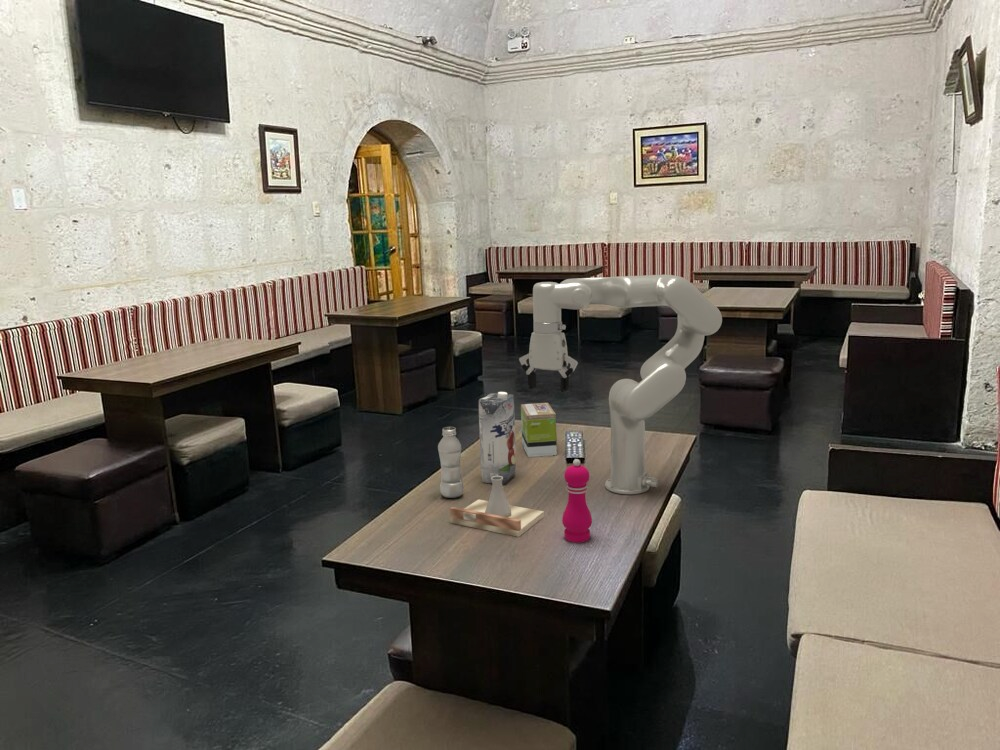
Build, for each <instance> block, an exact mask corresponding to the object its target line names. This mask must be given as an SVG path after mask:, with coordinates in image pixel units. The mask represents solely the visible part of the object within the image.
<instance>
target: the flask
mask: <svg viewBox="0 0 1000 750" xmlns="http://www.w3.org/2000/svg"><path fill="white" fill-rule="evenodd" d="M502 480H503V477H502V476H493V477H491V481H492V483H491V492H490V495H489V498H488V500H487V501H488V504H487V507H486V510H485V513H488V514H493V515H498V516H503V517H508V516H510V515H511V508H510V506H509V505H510V504H509V502H508V499H507V497H506V496H507V495H506V493H505V492H504V488H503V485H502Z"/></svg>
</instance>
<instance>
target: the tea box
mask: <svg viewBox="0 0 1000 750" xmlns="http://www.w3.org/2000/svg"><path fill="white" fill-rule="evenodd" d="M520 418H521V419H520V420H521V421H520V423H521V424H520V425H521V444H522V447H523V448H524V451H525V453H526V455H527V457H528V458H541V456H542V458H543V457H554V456H553V455H555V456H557V455H558V453H557V452H558V450H557V449H558V447H557V445H558V443H557V441H558V440H557V438H558V437H557V414H556V412H555V411H554V409H553V408H552V406H551V405H550V404H549V402H540V403H539V402H537V403H526V404H525V403H524V404H523V403H522V404H520Z"/></svg>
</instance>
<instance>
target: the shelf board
mask: <svg viewBox="0 0 1000 750" xmlns="http://www.w3.org/2000/svg"><path fill="white" fill-rule="evenodd" d="M488 501H489V500H483V499H479V498H478V499H476V500H475V501H473V502H471V504H469V505H467V506H466V507H464V508H461V507H457V506H456V507H455V506H451V507H450V508H449V515H450V523H451V524H455V525H460V526H464V527H470V528H474V529H478V530H484V531H487V532H488V531H489V532H494V533H499V534H504V535H508V536H512V537H513V536H514V537H516V538H517V537H518V538H519V537H521V536H522V535H523V534H525V532H527V531H528V530H529V529H530V528H532V527H534V526H535V525H536V524H537V523H538V522H539V521H541V520H542V519H543V518H544V517H545V511H544V510H538V509H532V508H528V507H527V508H526V507H521V506H517V505H511V504H509V506H510V508H511V515H510V516H508V517H503V516H498V515H493V514H488V513H485V510H486V507H487V504H488Z"/></svg>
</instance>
